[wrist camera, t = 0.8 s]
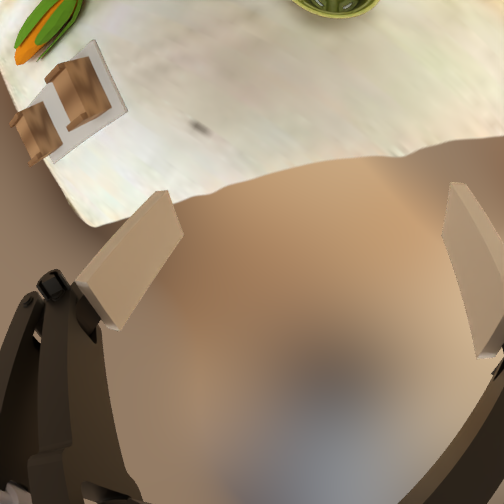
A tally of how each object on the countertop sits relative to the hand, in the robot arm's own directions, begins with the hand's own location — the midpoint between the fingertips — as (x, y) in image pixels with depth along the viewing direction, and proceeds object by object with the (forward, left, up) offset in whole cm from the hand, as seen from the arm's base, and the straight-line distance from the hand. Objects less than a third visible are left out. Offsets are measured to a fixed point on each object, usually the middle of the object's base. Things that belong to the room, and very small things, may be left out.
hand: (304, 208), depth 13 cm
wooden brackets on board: (-16, -38, -25) cm, 49 cm away
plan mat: (-16, -38, -25) cm, 49 cm away
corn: (-31, -33, -26) cm, 52 cm away
